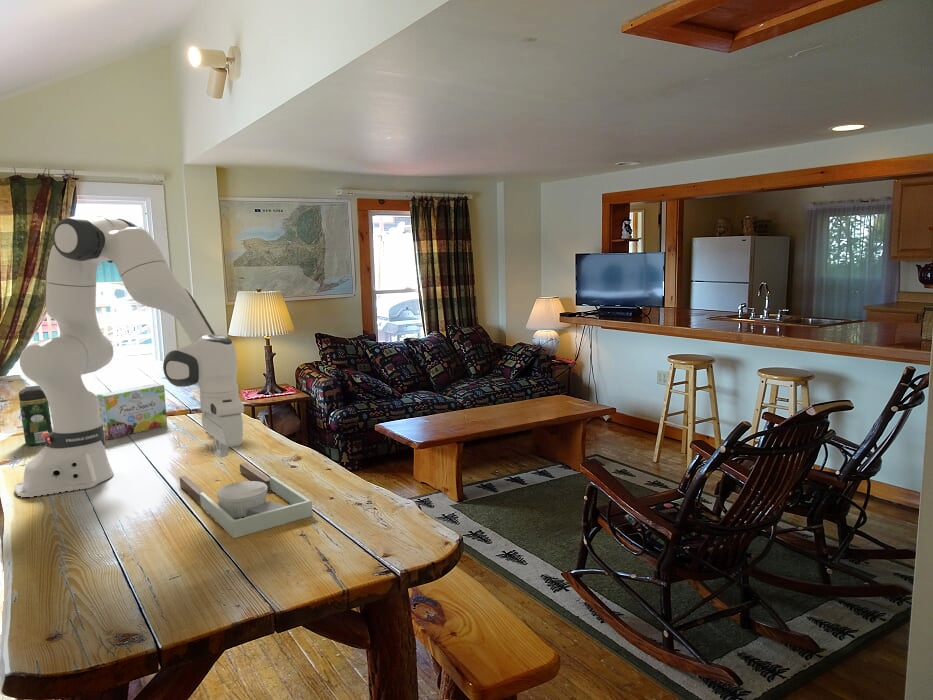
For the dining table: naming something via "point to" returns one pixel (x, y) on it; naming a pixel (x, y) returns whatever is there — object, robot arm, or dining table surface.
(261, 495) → the ramekin
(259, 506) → the slate tile
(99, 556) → the dining table surface
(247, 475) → the runway rails
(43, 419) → the coffee jar
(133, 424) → the snack box
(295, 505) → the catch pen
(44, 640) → the dining table surface
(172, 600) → the dining table surface
